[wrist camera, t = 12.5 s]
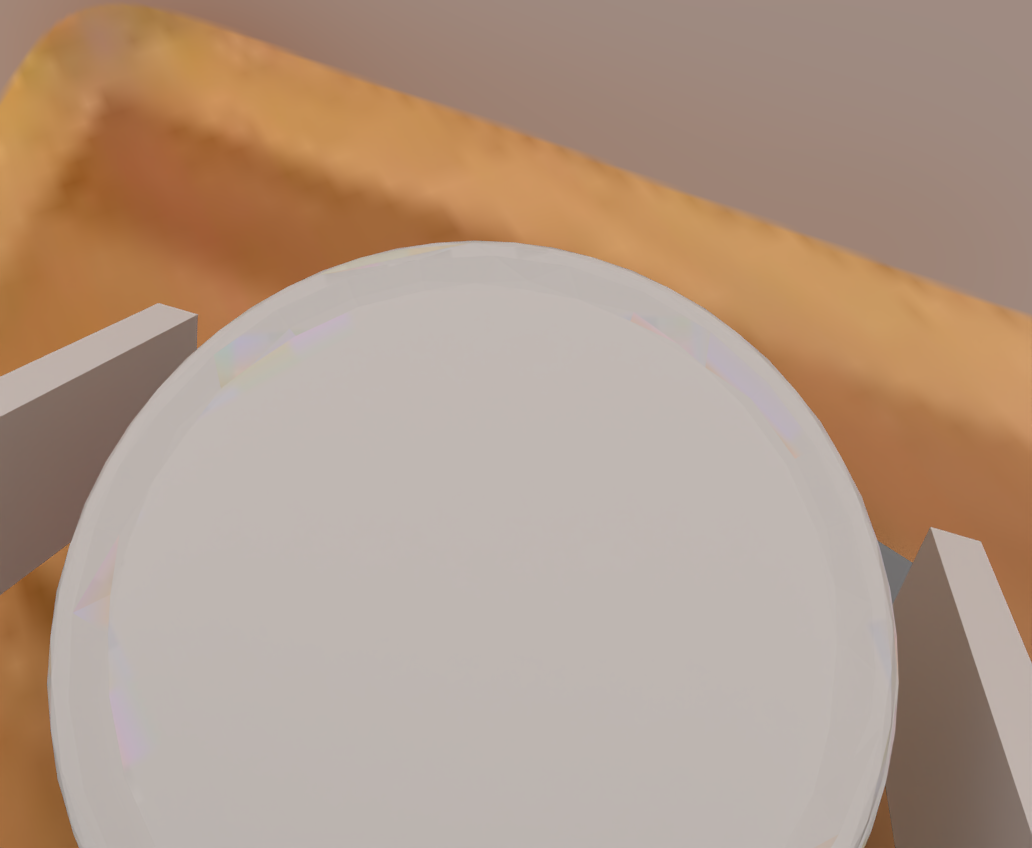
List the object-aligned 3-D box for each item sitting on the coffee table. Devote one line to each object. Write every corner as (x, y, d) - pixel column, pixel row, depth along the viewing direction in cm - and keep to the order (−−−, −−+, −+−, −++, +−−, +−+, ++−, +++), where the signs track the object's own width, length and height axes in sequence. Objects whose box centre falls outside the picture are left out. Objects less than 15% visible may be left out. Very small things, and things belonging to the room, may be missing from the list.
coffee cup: (391, 426, 22) (269, 118, 11) (746, 560, 21) (1012, 371, 10) (219, 798, 20) (-181, 894, 8) (619, 975, 19) (787, 1364, 7)
